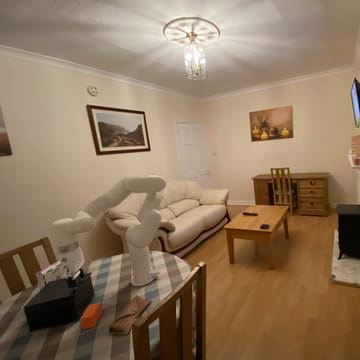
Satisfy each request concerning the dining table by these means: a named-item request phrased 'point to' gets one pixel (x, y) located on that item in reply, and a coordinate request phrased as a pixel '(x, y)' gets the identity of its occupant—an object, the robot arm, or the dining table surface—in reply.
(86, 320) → the packet
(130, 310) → the sunglasses case
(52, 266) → the candy bar box
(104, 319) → the dining table surface
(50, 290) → the box lid
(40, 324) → the black box
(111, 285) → the dining table surface
